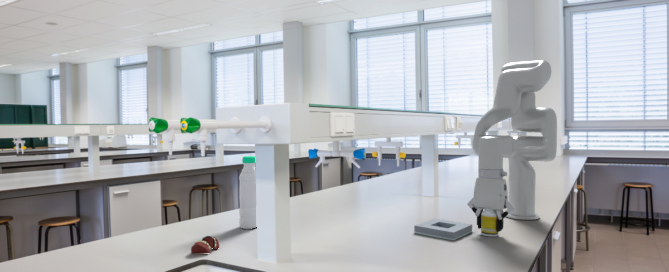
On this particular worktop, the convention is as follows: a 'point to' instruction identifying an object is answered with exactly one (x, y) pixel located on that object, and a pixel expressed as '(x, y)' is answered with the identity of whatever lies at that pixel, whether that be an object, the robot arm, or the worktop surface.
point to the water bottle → (247, 194)
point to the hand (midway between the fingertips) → (489, 228)
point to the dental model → (205, 245)
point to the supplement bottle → (489, 223)
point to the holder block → (443, 229)
